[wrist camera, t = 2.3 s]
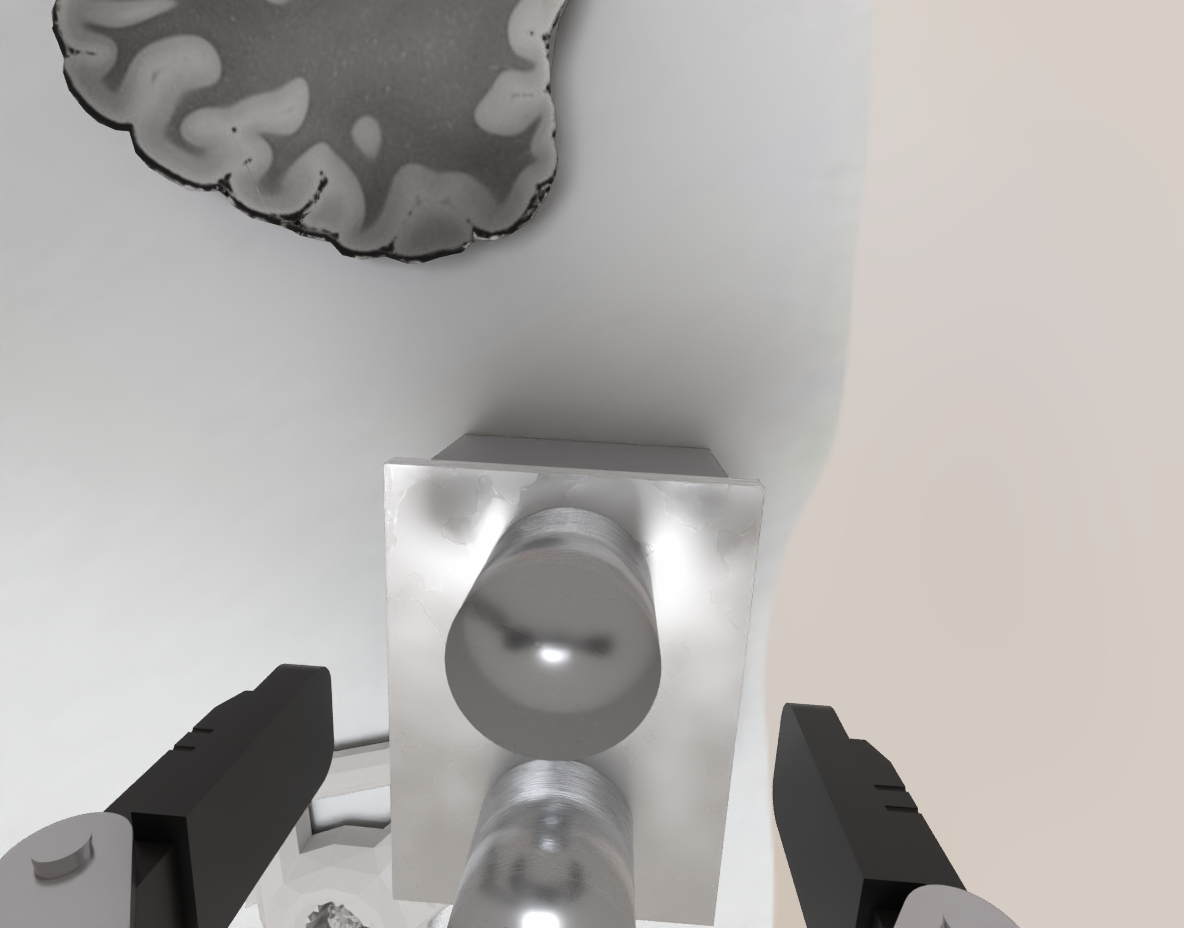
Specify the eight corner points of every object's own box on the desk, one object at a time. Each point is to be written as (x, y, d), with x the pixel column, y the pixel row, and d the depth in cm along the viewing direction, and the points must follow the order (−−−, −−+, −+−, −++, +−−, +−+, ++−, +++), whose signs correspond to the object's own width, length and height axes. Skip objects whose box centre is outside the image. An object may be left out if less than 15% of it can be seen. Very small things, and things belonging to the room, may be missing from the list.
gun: (481, 1123, 27) (257, 1115, 28) (498, 1038, 31) (297, 1033, 31) (445, 735, 24) (195, 737, 25) (468, 689, 28) (247, 691, 28)
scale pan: (709, 903, 20) (713, 926, 20) (401, 877, 21) (392, 899, 20) (758, 479, 17) (765, 487, 16) (394, 457, 18) (383, 463, 17)
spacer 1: (562, 695, 18) (546, 798, 14) (449, 580, 17) (400, 655, 14) (687, 596, 17) (706, 677, 13) (572, 472, 17) (558, 519, 13)
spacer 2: (551, 914, 20) (535, 1060, 16) (448, 817, 19) (404, 944, 15) (664, 834, 19) (676, 967, 15) (560, 729, 18) (544, 841, 14)
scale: (692, 752, 27) (713, 874, 21) (462, 735, 27) (418, 850, 21) (723, 449, 24) (757, 491, 18) (465, 434, 24) (415, 470, 18)
